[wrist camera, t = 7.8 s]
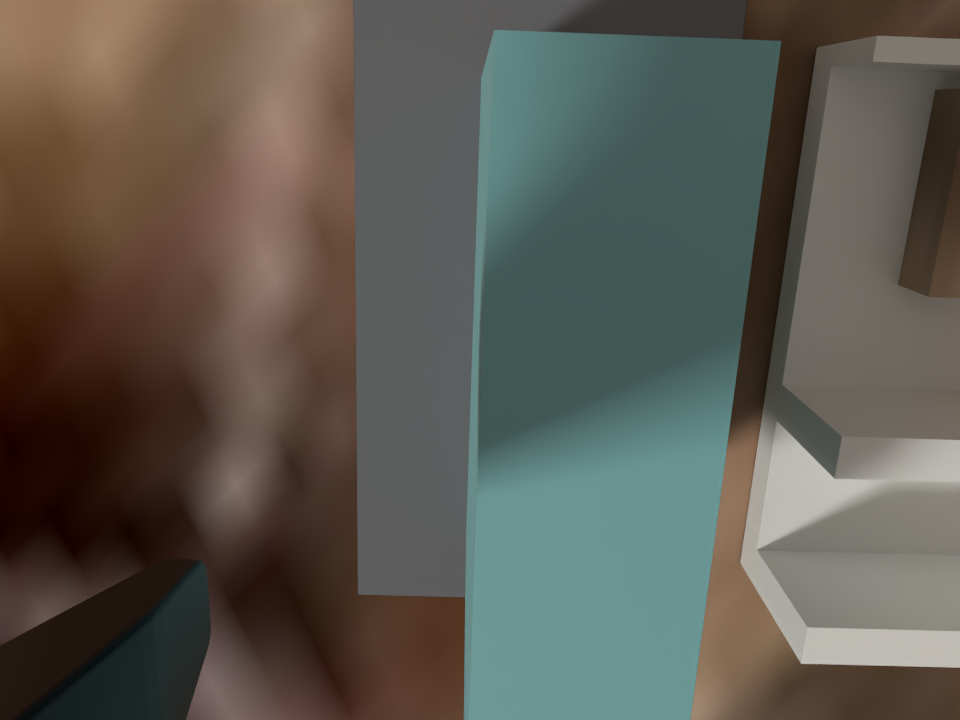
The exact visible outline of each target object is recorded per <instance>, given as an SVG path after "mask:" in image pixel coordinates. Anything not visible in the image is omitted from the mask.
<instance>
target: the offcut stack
mask: <svg viewBox="0 0 960 720" xmlns="http://www.w3.org/2000/svg"><path fill="white" fill-rule="evenodd" d="M898 285H900V286H902V287H905V288H907V289H910V290H912V291H915V292H917V293H920V294H922V295H925V296H927V297H942V298H960V88H959V89H941V90H935V93H934V99H933V104H932V109H931V114H930V119H929V125H928V130H927V135H926V140H925V146H924V151H923V156H922V161H921V167H920V172H919V177H918V182H917V187H916V193H915V198H914V203H913V208H912V214H911V219H910V224H909V229H908V235H907V240H906V245H905V250H904V255H903V261H902V266H901V271H900V276H899V282H898Z"/></svg>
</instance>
